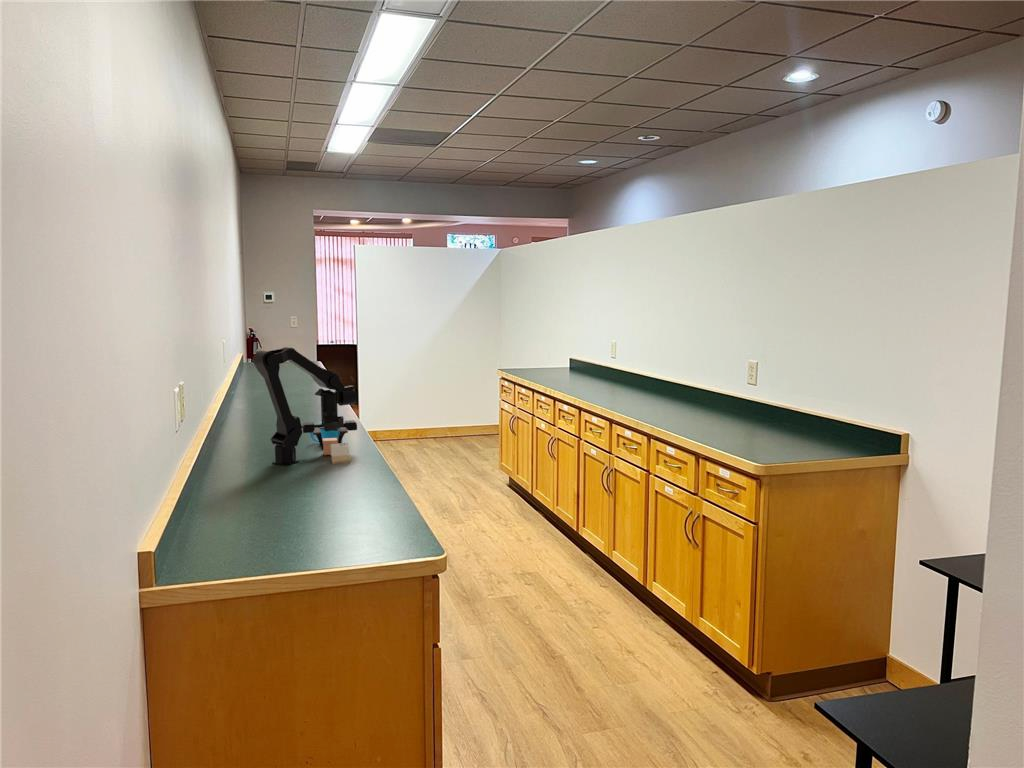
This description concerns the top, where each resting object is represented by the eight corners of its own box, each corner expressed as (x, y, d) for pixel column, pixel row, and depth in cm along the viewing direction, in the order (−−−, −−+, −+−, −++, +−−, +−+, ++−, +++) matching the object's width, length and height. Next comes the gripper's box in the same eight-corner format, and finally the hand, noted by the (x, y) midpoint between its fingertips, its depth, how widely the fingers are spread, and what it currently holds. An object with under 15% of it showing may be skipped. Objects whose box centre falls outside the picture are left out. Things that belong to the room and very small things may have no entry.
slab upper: (349, 455, 255) (349, 446, 254) (331, 456, 253) (331, 447, 253) (348, 451, 260) (348, 442, 260) (330, 452, 259) (330, 443, 258)
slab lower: (350, 463, 255) (350, 455, 255) (332, 464, 254) (332, 456, 253) (348, 459, 261) (348, 451, 261) (331, 460, 259) (331, 452, 259)
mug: (342, 440, 293) (341, 420, 292) (342, 444, 285) (341, 423, 284) (310, 442, 290) (309, 421, 289) (309, 446, 282) (309, 425, 281)
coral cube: (338, 454, 266) (337, 440, 265) (323, 455, 264) (323, 441, 264) (337, 451, 270) (336, 437, 270) (322, 452, 269) (322, 438, 268)
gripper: (302, 411, 255) (304, 456, 257) (358, 409, 260) (359, 453, 262) (301, 407, 265) (303, 450, 267) (354, 404, 271) (355, 446, 273)
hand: (330, 450), depth 267 cm, fingers closed on coral cube, 5 cm apart
